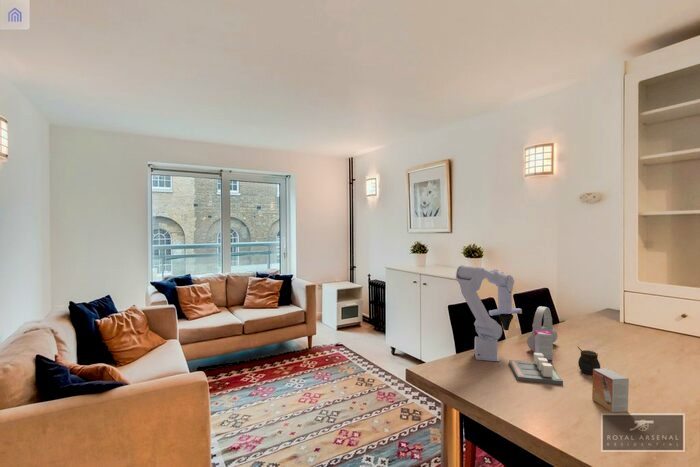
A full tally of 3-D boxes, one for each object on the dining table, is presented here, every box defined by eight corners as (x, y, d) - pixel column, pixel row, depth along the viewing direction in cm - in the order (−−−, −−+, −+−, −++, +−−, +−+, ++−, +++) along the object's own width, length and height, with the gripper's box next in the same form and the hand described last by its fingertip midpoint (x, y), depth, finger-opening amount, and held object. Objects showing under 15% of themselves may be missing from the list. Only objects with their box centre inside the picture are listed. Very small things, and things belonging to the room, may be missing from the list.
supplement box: (553, 361, 148) (553, 334, 148) (538, 360, 149) (538, 333, 149) (548, 356, 154) (548, 330, 154) (533, 355, 155) (533, 329, 155)
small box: (591, 400, 115) (592, 368, 115) (607, 399, 116) (607, 367, 116) (611, 412, 107) (612, 379, 107) (628, 412, 108) (629, 378, 108)
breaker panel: (517, 380, 130) (517, 376, 130) (509, 363, 146) (509, 359, 146) (562, 385, 126) (562, 380, 126) (548, 366, 142) (548, 362, 142)
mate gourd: (604, 377, 132) (604, 351, 132) (582, 376, 134) (582, 350, 134) (594, 369, 140) (594, 344, 139) (574, 368, 141) (574, 344, 141)
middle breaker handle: (539, 370, 134) (539, 360, 134) (537, 367, 137) (537, 357, 137) (547, 371, 134) (547, 360, 133) (545, 368, 136) (545, 358, 136)
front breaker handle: (543, 376, 129) (543, 365, 129) (541, 373, 132) (541, 362, 132) (552, 377, 128) (552, 366, 128) (550, 374, 131) (550, 363, 131)
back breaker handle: (535, 364, 140) (535, 355, 140) (533, 362, 142) (533, 352, 142) (543, 365, 139) (543, 355, 139) (541, 362, 142) (541, 353, 141)
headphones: (539, 340, 176) (539, 302, 175) (558, 344, 170) (558, 304, 169) (526, 350, 161) (526, 309, 161) (546, 355, 155) (546, 312, 155)
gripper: (493, 303, 154) (494, 333, 155) (525, 301, 155) (526, 331, 156) (486, 299, 161) (487, 328, 162) (516, 297, 162) (517, 326, 163)
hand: (505, 329), depth 159 cm, fingers closed
